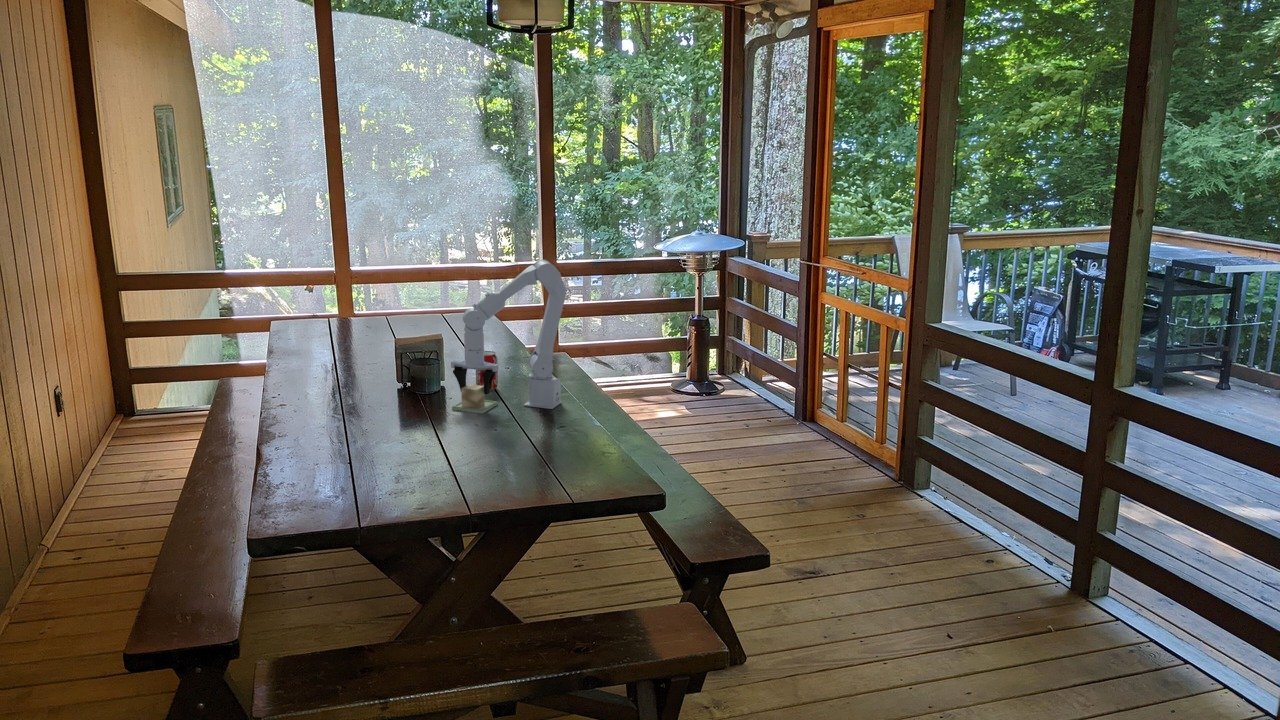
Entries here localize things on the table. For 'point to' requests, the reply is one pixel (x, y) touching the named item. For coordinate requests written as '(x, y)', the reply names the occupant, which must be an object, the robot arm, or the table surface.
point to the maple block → (473, 396)
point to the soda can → (490, 358)
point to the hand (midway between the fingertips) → (475, 392)
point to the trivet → (482, 410)
